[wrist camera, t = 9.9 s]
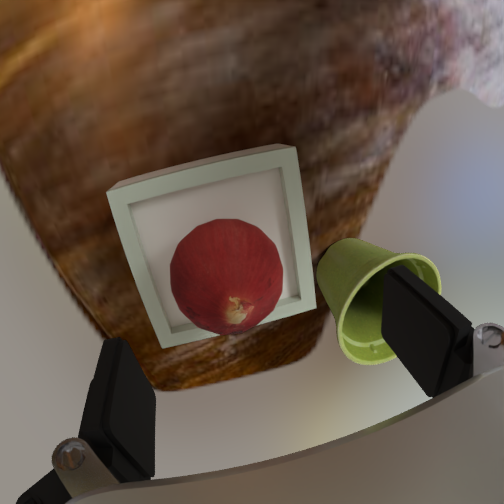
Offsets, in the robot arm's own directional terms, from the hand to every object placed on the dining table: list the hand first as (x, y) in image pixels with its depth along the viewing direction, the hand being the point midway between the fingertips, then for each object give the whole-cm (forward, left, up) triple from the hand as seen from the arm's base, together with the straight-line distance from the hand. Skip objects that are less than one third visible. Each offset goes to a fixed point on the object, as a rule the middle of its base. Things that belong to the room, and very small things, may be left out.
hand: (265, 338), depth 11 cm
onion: (+1, 0, -10) cm, 10 cm away
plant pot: (-10, +8, -16) cm, 21 cm away
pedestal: (+1, +1, -16) cm, 16 cm away
